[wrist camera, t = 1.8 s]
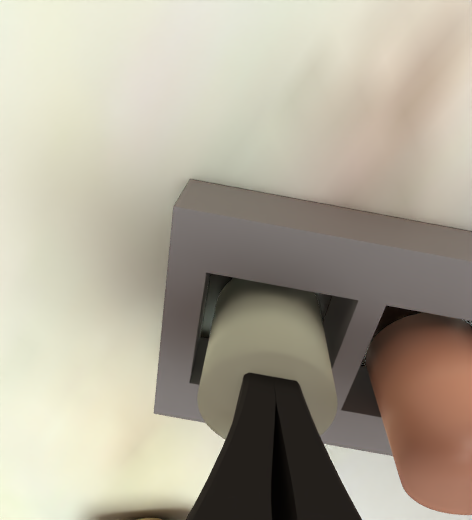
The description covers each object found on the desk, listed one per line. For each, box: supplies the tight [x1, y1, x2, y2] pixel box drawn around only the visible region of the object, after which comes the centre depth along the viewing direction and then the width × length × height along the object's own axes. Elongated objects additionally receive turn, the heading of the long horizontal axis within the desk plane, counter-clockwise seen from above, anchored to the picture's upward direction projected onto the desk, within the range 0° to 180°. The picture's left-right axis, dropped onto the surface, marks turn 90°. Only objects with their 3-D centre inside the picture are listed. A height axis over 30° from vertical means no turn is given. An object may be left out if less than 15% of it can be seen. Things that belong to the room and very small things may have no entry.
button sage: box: [197, 278, 338, 439], centre depth 12 cm, size 4×4×4 cm
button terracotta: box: [366, 313, 472, 515], centre depth 11 cm, size 4×4×4 cm
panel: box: [154, 179, 472, 456], centre depth 13 cm, size 17×8×2 cm, turn 81°
